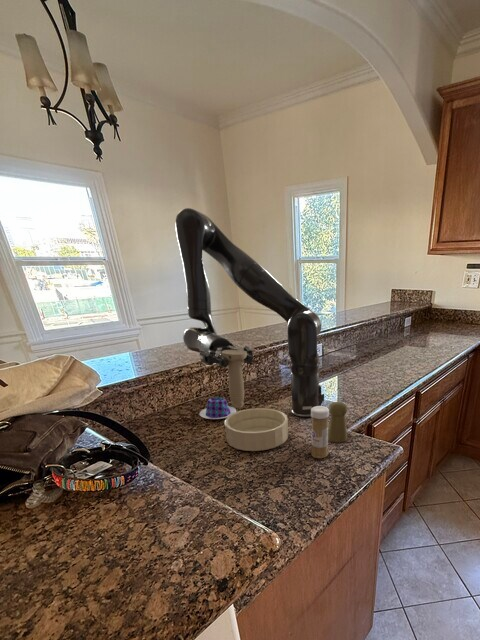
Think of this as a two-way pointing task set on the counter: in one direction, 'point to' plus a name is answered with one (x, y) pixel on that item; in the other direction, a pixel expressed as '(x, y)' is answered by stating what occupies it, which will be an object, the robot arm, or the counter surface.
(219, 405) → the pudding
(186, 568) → the counter surface
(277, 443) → the bowl
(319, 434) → the sprinkles bottle
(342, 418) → the green pepper mill
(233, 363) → the handle
